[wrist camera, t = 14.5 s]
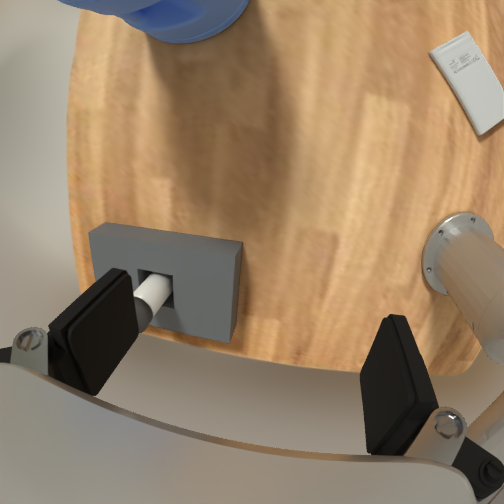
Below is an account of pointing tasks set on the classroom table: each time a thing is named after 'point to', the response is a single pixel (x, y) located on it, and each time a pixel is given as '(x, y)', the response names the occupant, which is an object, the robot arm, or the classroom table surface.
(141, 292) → the peg
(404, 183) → the classroom table surface
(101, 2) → the water jug
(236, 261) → the socket block
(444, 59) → the external hard drive
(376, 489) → the robot arm
